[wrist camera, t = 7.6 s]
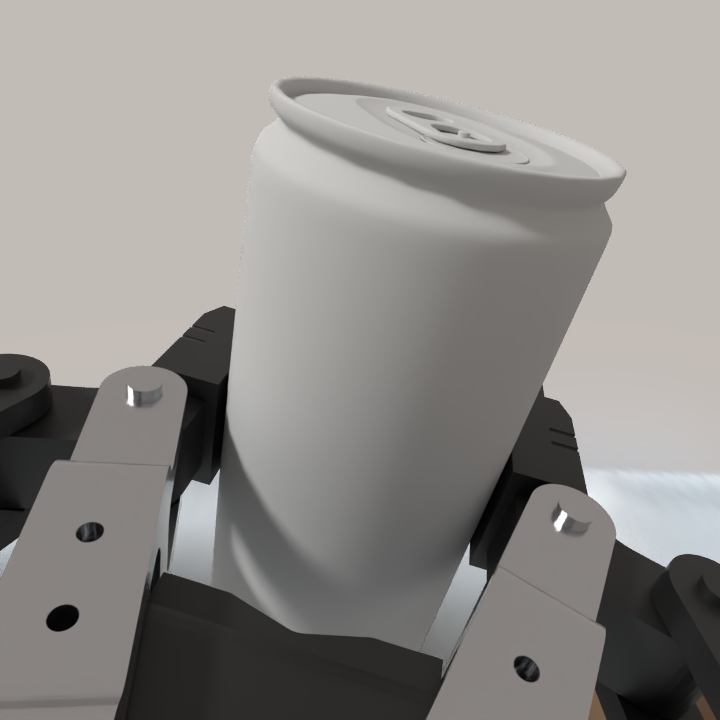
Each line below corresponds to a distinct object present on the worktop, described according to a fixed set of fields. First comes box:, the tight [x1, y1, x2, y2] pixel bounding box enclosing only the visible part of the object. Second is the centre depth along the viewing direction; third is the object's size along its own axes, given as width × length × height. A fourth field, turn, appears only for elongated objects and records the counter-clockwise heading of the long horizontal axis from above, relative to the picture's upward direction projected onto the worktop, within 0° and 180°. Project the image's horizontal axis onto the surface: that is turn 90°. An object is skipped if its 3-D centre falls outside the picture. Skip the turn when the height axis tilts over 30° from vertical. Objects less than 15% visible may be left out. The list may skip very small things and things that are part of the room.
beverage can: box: [210, 77, 626, 652], centre depth 10 cm, size 5×5×12 cm
